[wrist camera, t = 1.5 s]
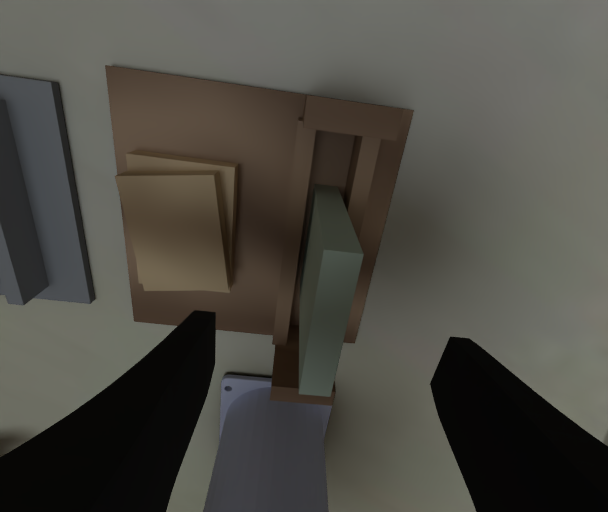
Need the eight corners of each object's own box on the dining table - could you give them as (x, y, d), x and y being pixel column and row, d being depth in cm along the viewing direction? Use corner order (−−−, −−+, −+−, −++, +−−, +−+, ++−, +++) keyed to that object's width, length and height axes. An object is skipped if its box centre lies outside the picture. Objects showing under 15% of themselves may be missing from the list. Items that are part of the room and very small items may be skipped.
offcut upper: (231, 280, 18) (228, 290, 17) (152, 281, 18) (144, 290, 17) (218, 170, 16) (213, 175, 15) (125, 171, 16) (114, 175, 15)
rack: (353, 338, 22) (368, 409, 17) (137, 316, 21) (87, 384, 16) (410, 109, 16) (459, 117, 11) (111, 66, 15) (18, 52, 10)
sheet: (320, 286, 20) (330, 396, 12) (299, 283, 20) (298, 394, 12) (337, 186, 17) (363, 254, 10) (314, 183, 17) (323, 249, 10)
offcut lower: (232, 284, 20) (229, 293, 19) (146, 274, 19) (138, 283, 18) (238, 163, 17) (234, 167, 16) (135, 150, 16) (125, 153, 15)
